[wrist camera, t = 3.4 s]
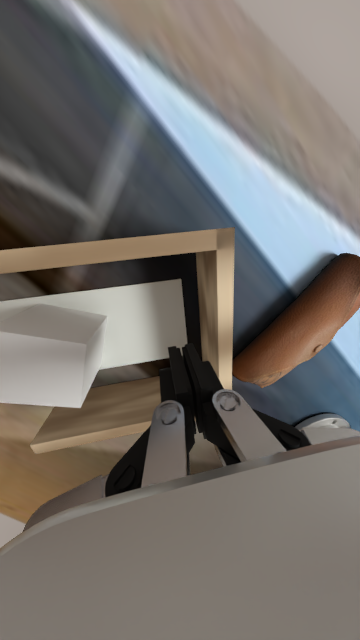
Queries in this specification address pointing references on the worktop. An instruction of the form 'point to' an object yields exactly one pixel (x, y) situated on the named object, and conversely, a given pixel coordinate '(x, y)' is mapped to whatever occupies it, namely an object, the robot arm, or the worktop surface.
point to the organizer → (144, 395)
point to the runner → (125, 318)
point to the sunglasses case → (303, 324)
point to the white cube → (50, 355)
